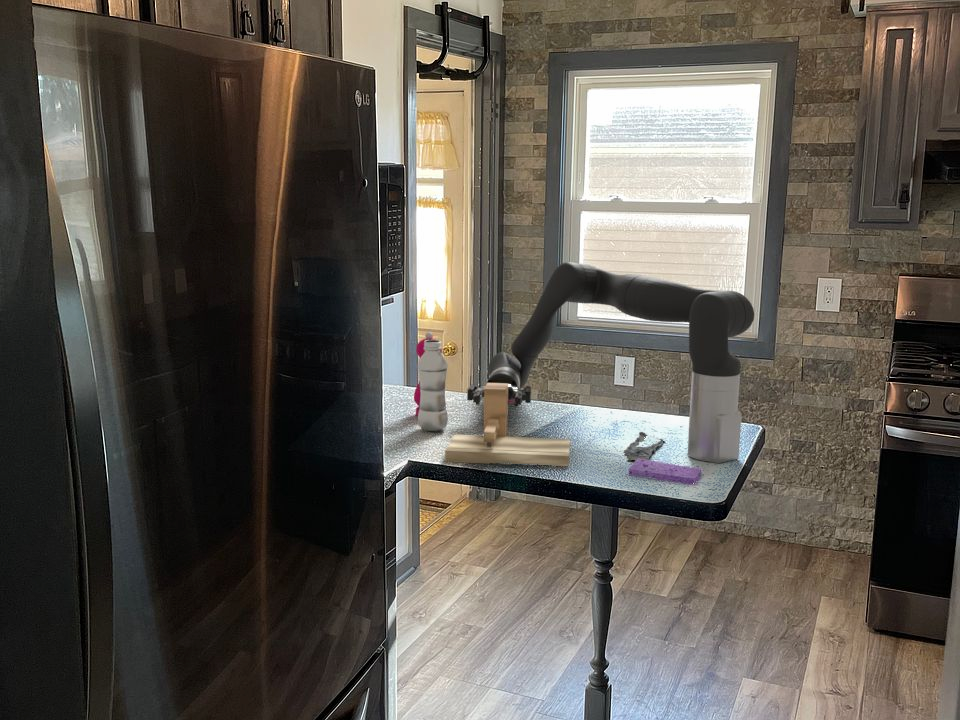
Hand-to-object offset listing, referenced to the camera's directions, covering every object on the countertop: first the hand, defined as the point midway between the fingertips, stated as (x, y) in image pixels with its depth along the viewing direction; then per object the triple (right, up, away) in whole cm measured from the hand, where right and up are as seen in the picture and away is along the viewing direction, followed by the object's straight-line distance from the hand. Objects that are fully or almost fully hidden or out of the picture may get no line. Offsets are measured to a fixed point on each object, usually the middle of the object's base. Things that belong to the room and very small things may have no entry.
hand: (496, 401), depth 190 cm
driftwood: (+31, -10, -9) cm, 33 cm away
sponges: (+31, -13, -26) cm, 43 cm away
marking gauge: (-1, -9, -11) cm, 14 cm away
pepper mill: (-16, -4, +16) cm, 23 cm away
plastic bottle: (-14, -7, +3) cm, 16 cm away
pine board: (+2, -10, -15) cm, 18 cm away
